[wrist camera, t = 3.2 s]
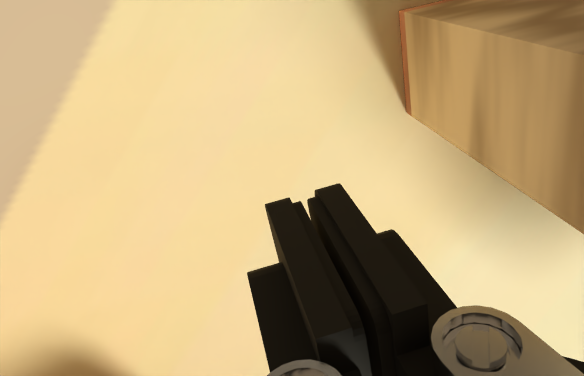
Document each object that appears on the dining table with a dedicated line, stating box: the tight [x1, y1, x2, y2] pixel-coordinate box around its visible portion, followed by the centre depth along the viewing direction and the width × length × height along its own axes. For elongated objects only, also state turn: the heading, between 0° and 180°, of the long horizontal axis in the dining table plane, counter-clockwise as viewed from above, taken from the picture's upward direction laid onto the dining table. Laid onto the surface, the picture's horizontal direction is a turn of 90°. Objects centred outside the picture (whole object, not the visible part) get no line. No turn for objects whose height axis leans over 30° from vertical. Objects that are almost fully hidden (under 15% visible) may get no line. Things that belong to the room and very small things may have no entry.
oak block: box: [399, 0, 584, 234], centre depth 18 cm, size 5×5×12 cm
